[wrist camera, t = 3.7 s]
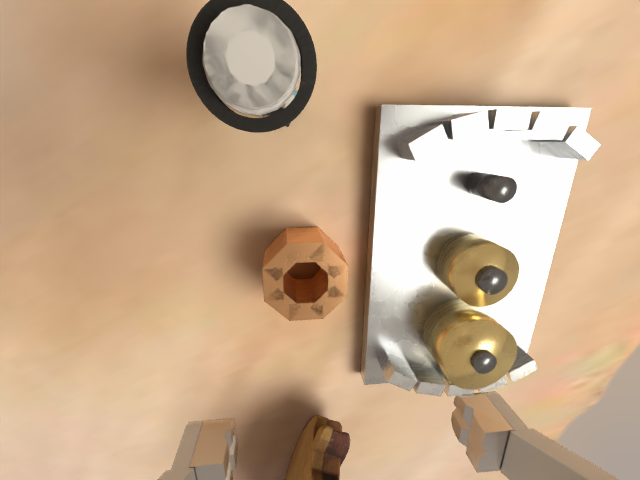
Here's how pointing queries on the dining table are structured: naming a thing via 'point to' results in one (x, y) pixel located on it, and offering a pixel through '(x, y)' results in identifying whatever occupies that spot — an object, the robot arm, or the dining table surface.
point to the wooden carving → (319, 451)
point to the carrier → (463, 240)
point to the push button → (251, 62)
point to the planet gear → (304, 294)
